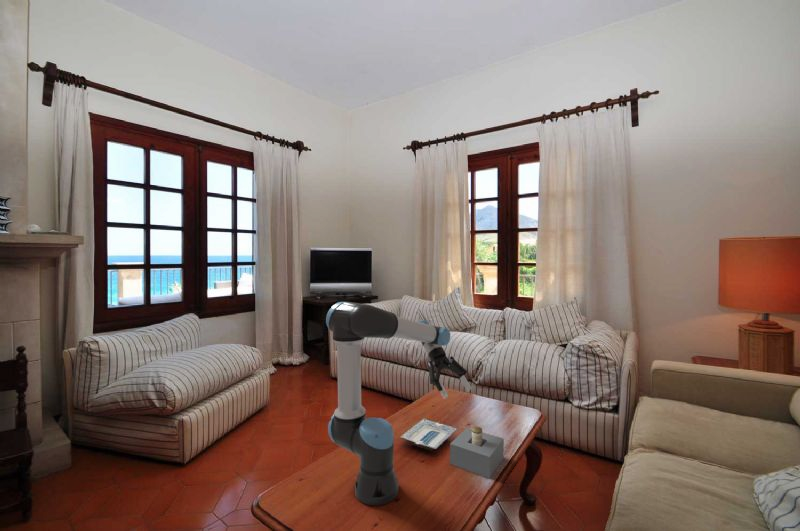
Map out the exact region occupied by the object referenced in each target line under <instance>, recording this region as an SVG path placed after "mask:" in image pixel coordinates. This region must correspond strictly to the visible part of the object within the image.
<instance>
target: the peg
mask: <svg viewBox="0 0 800 531" xmlns="http://www.w3.org/2000/svg"><path fill="white" fill-rule="evenodd" d="M471 429H472V444H474V445H477V446H481V447H482V432H483V428H482V427H481V426H475V425H474V426H472V427H471Z"/></svg>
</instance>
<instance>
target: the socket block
mask: <svg viewBox="0 0 800 531" xmlns="http://www.w3.org/2000/svg"><path fill="white" fill-rule="evenodd" d="M504 439H505V438H502V437H499V436H497V435H492V434H489V433H486V432H483V431H482V447H481V446H477V445H474V444H472V428H468V427H466V428H465V429H463V430H462V432H461V433H459V435H458V436H457V437H455V439H453V440H452V441H451V442H450V444H449V465H452V466H455V467H457V468H459V469H462V470H465V471H468V472H469V473H472V474H473V473H474V474H476V475H479V476H480V477H481V476H482V477H484V478H487V479H488V480H489V479H491V477H492V475H493V474H494V472H496V470H497V468H498V467H499V465H500V464H501V463H502V461H503V460H504V457H505V455H504V450H505V448H504V446H505V445H504V443H505V442H504Z"/></svg>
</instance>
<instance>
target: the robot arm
mask: <svg viewBox="0 0 800 531" xmlns="http://www.w3.org/2000/svg"><path fill="white" fill-rule="evenodd" d="M325 324H326V326H327V328H328V329H329V330H330V332H332V341H333V343H335V344H336V355H337V356H336V358H337V360H336V362H337V363H336V364H337V366H336V367H337V408H335V409H334V413H333V415H332V416H331V417H330V419H331V420H329V422H328V424H327V425H328V426H327V427H328V428H327V432H328V437H329V438H330V440H331V441H332V442H333V443H335V444H336V445H337V446H339V447H340V448H342V449H345V450H347V451H349V452H350V453H352V454H355V455H356V456H358V457H359V472H358V474H357V477H356V480H355V484H354V494H355V495H354V496H355V497H356V499H357V500H358V501H359V502H361V503H362V504H364V505H367V506H368V505H369V506H383V505H387V504H388V503H390V502H391V503H392V501H394V499H396V497H397V496H398V494H399V481H398V478H397V474H396V472H395V468H394V455H395V454H394V450H395V449H394V446H395V443H394V442H395V441H394V440H395V436H394V430H393V426H392V424H391V423H390V422H389V421H388V420H386V419H384V418H381V417H375V416H374V417H366V411H367V410H366V408H365V407H364V406H363V405H362V371H361V370H362V364H361V363H362V361H361V358H362V357H361V353H362V352H361V344H362V343H361V342H363V341H364V340H365V338H366V339H367V338H370V339H372V338H373V339H374V338H375V339H377V338H378V339H387V340H388V339H392V338H398V339H403V340H408V341H416V342H420V343H421V344H422V346H423V349H424V351H425V352H426V353H427V356H428V357H429V361H428V363H427V367H428V371H429V372H428V373H429V384H431V385H433V386H436V388H437V391H438V392H440V394H441V396H442V398H443V400H446V399H447V398H448V397H449V394H448V391H447V389H446V388H445V386H444V384H443V382H442V381H440V378H441V371H444V370H448V371H450V372H452V373H453V374H455V375H456V376H458V377H459V380H460V381H461V383H462V386H463V387H464V389H465V391H466V392H468V393H469V392H470V391H471V390H472V386H471V384H470V383H469V379H468V378H467V376H466V374H467V373H468V371H467V370H466V369H465V368H464V366H462V365H461V364H460V363H459V362H458V361H456V359H455V358H454V357H453V356H450V357H447V354H446V351H445V350H444V348H443V347H444V346H447V345H448V344H449V343H450V341H451V332H450V330H449V329H448V328H447V327H443V326H437V325H434V324H430V323H429V321H428V320H426V319H422V320H421V319H420V320H418V321H416V320H412V319H409V318H404V317H401V316H397V315H396V313H394V312H392V311H388V310H385V309H383V308H380V307H377V306H374V305H372V304H371V305H370V304H366V303H358V302H351V301H338V302H336V303H335V304H333V305H332V306H331V308H329V310H328V311H327V314H326V318H325Z"/></svg>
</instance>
